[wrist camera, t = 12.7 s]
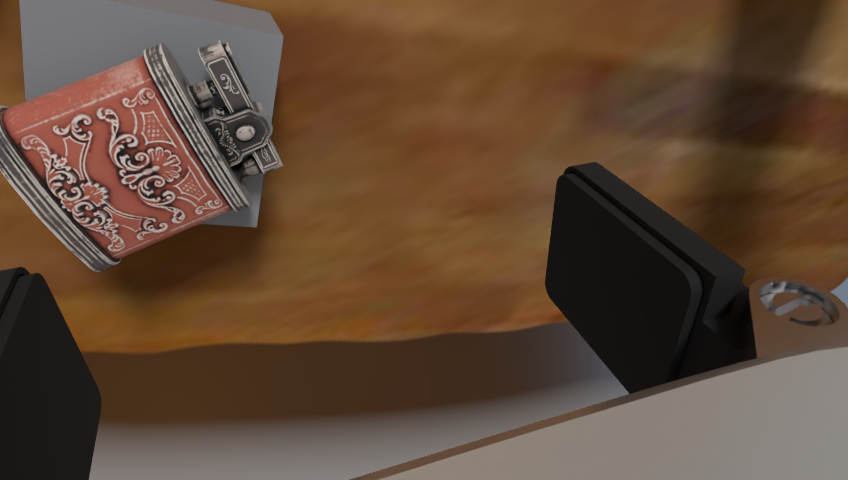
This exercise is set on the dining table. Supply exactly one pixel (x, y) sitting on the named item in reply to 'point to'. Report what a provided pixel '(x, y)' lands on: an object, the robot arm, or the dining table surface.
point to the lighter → (137, 152)
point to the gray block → (143, 28)
